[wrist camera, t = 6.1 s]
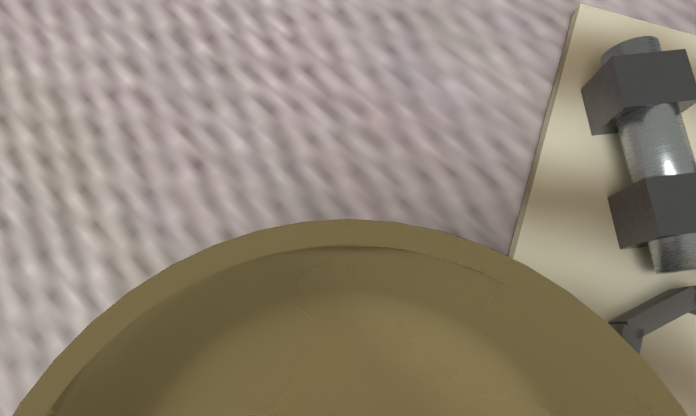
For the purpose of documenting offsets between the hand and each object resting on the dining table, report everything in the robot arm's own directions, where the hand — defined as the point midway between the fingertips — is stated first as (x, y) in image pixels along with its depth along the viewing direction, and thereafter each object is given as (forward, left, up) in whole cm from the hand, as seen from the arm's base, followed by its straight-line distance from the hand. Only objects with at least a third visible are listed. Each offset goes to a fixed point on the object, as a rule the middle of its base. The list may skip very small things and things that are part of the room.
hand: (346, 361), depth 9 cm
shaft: (+15, 0, -12) cm, 20 cm away
